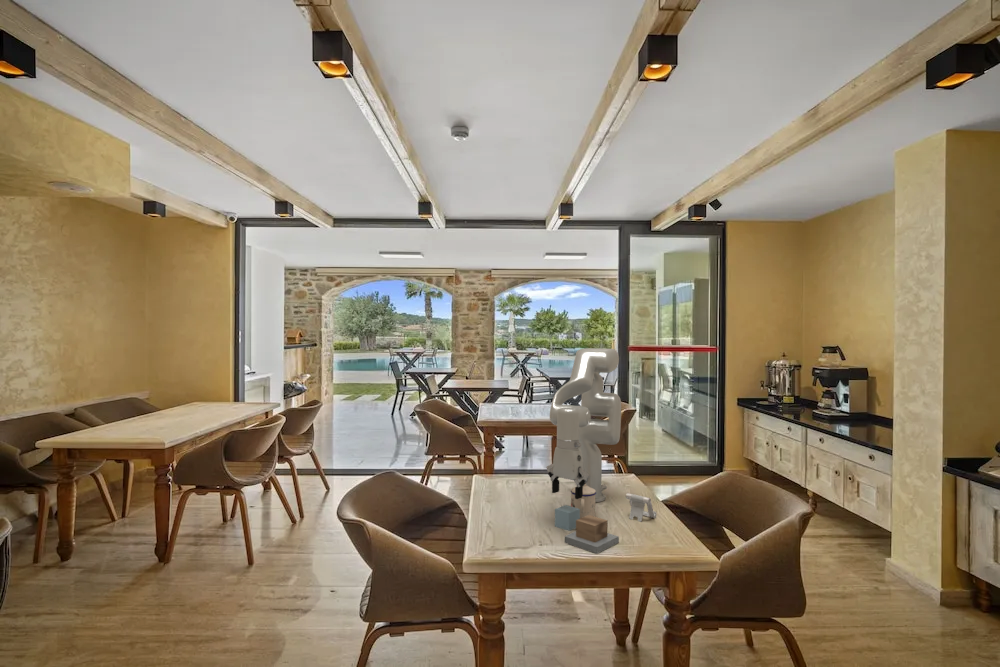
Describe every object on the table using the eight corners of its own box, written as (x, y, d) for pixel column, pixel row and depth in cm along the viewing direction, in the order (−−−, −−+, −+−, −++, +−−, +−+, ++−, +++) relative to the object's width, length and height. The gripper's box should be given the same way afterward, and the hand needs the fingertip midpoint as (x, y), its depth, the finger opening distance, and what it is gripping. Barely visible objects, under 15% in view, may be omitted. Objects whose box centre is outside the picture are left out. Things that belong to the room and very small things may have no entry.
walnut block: (588, 530, 169) (588, 514, 169) (607, 536, 164) (607, 520, 164) (575, 536, 164) (576, 520, 164) (594, 542, 159) (594, 525, 159)
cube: (565, 522, 182) (565, 505, 183) (579, 526, 178) (579, 509, 178) (554, 526, 178) (554, 508, 178) (568, 531, 174) (569, 513, 174)
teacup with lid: (571, 510, 195) (571, 478, 195) (596, 512, 193) (596, 480, 193) (569, 521, 183) (569, 487, 183) (595, 523, 181) (595, 489, 182)
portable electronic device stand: (656, 518, 188) (656, 494, 188) (646, 523, 182) (646, 499, 182) (634, 512, 194) (634, 489, 194) (624, 517, 188) (624, 494, 188)
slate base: (586, 532, 173) (586, 526, 173) (618, 542, 164) (618, 536, 164) (564, 542, 164) (564, 536, 164) (597, 553, 156) (597, 547, 156)
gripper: (595, 446, 175) (594, 498, 174) (554, 439, 187) (553, 488, 186) (582, 449, 170) (581, 503, 169) (541, 442, 182) (540, 492, 181)
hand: (566, 495), depth 178 cm, fingers open, 9 cm apart
